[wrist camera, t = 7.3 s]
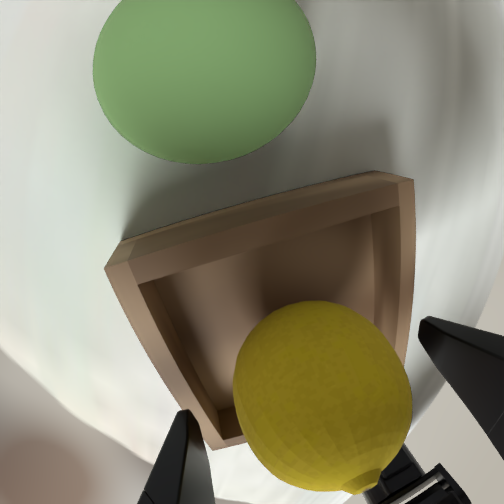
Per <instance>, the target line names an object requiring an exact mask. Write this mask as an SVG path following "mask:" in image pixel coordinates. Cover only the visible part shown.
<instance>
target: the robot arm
mask: <svg viewBox="0 0 504 504" xmlns="http://www.w3.org/2000/svg"><path fill="white" fill-rule="evenodd" d="M418 339H419V341H420V343H421V344H422V346H423V347H424V349H425V350H426V352H427V353H428V355H429V357H430V358H431V360H432V361H433V363H434V364H435V366H436V367H437V369H438V370H439V371H440V373H441V374H442V375H443V376H444V378H445V379H446V380H447V382H448V383H449V384H450V385H451V387H452V388H453V389H454V391H455V392H456V393H457V395H458V396H459V397H460V399H461V400H462V401H463V403H464V404H465V405H466V407H467V408H468V409H469V410H470V412H471V413H472V415H473V416H474V418H475V419H476V420H477V422H478V423H479V425H480V426H481V427H482V429H483V430H484V432H485V433H486V434H487V436H488V438H489V439H490V440H491V442H492V444H493V445H494V446H495V448H496V449H497V451H498V452H499V454H500V456H501V457H502V459H503V460H504V336H502V335H498V334H494V333H491V332H487V331H483V330H479V329H476V328H472V327H468V326H465V325H461V324H457V323H454V322H450V321H446V320H443V319H439V318H436V317H432V316H427V317H425V318H424V319H422V320H421V321H420V325H419V332H418ZM435 479H437V481H438V482H437V483H435V484H434V485H432V486H431V487H429V488H428V489H427V490H425V491H424V492H422V493H421V494H419V495H418V496H416V497H415V498H413V499H412V500H410V501H408V502H407V503H405V504H471V501H470V500H469V498H468V496H467V495H466V494H465V492H464V491H463V490H462V488H461V487H460V486H459V485H458V484H457V483H456V481H455V480H454V479H453V478H452V477H451V475H450V474H449V473H448V472H447V471H446V470H445V468H444V467H443V466H442V465H441V464H440V463H439V464H437V465H436V466H435V467H434V469H432V470H431V471H430V472H428V473H427V474H425V472H424V471H423V469H422V468H421V467H420V465H419V464H418V462H417V461H416V459H415V458H414V457H413V455H412V454H411V452H410V451H409V450H408V448H407V447H406V445H405V444H404V443H403V445H402V447H401V448H400V450H399V452H398V454H397V455H396V456H395V457H394V458H393V460H392V461H391V462H390V463H389V464H388V465H387V467H386V468H385V469H383V470H382V471H381V474H380V477H379V480H378V483H377V484H376V485H375V486H374V487H372V488H371V489H369V490H367V491H365V492H362V494H363V496H364V498H365V500H366V502H367V503H368V504H399V503H401V502H402V501H404V500H406V499H407V498H409V497H411V496H412V495H414V494H415V493H417V492H418V491H420V490H421V489H423V488H424V487H425V486H427V485H428V484H430V483H431V482H433V481H434V480H435ZM137 504H215V498H214V492H213V485H212V478H211V471H210V465H209V460H208V456H207V452H206V448H205V445H204V441H203V437H202V433H201V429H200V425H199V423H198V421H197V419H196V418H195V416H194V415H193V413H192V412H191V410H189V409H185V410H180V411H178V412H177V414H176V416H175V418H174V421H173V423H172V425H171V428H170V430H169V432H168V434H167V437H166V439H165V441H164V444H163V446H162V448H161V450H160V453H159V455H158V457H157V460H156V462H155V464H154V467H153V469H152V471H151V474H150V476H149V478H148V481H147V483H146V485H145V488H144V491H143V492H142V494H141V496H140V499H139V501H138V503H137Z"/></svg>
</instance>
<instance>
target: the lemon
mask: <svg viewBox="0 0 504 504" xmlns="http://www.w3.org/2000/svg"><path fill="white" fill-rule="evenodd" d="M233 398H234V404H235V408H236V413H237V417H238V421H239V424H240V427H241V429H242V432H243V434H244V436H245V439H246V441H247V442H248V444H249V446H250V448H251V450H252V451H253V453H254V454H255V455H256V457H257V458H258V460H259V461H260V462H261V463H262V464H263V465H264V466H265V467H266V468H267V469H268V470H269V471H270V472H271V473H272V474H273V475H274V476H276V477H277V478H278V479H280V480H282V481H284V482H286V483H288V484H290V485H293V486H296V487H299V488H303V489H306V490H312V491H340V490H343V491H345V492H348V493H351V494H353V495H356V494H360V493H362V492H365V491H367V490H369V489H371V488H372V487H374V486H375V485H376V484H377V483H378V480H379V477H380V474H381V471H382V470H383V469H385V468H386V467H387V465H388V464H389V463H390V462H391V461H392V460H393V458H394V457H395V456H396V455H397V454H398V452H399V450H400V448H401V447H402V445H403V443H404V441H405V439H406V436H407V433H408V431H409V428H410V424H411V420H412V393H411V387H410V384H409V380H408V377H407V374H406V372H405V369H404V367H403V365H402V363H401V361H400V358H399V357H398V355H397V353H396V352H395V350H394V349H393V347H392V346H391V344H390V343H389V342H388V340H387V339H386V338H385V336H384V335H383V334H382V332H381V331H380V330H379V329H378V328H377V327H376V326H375V325H374V324H373V323H371V322H370V321H369V320H368V319H366V318H365V317H363V316H362V315H360V314H358V313H357V312H355V311H353V310H351V309H350V308H348V307H346V306H343V305H340V304H336V303H332V302H327V301H320V300H318V301H302V302H298V303H294V304H290V305H286V306H284V307H282V308H280V309H278V310H275V311H273V312H272V313H271V314H269V315H268V316H267V317H265V318H264V319H262V320H261V321H260V322H259V323H258V324H257V325H256V326H255V327H254V328H253V330H252V331H251V332H250V333H249V334H248V336H247V337H246V339H245V341H244V343H243V345H242V347H241V348H240V350H239V353H238V355H237V360H236V365H235V370H234V375H233Z"/></svg>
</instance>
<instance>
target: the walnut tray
mask: <svg viewBox="0 0 504 504" xmlns="http://www.w3.org/2000/svg"><path fill="white" fill-rule="evenodd" d="M415 252H416V217H415V192H414V179H410V178H406V177H402V176H397V175H393V174H389V173H384V172H380V171H370V172H366V173H361V174H357V175H352V176H348V177H343V178H339V179H335V180H331V181H327V182H322V183H318V184H314V185H310V186H306V187H302V188H298V189H294V190H290V191H287V192H283V193H279V194H275V195H271V196H268V197H264V198H260V199H257V200H253V201H249V202H246V203H242V204H239V205H235V206H232V207H228V208H225V209H221V210H218V211H214V212H211V213H208V214H204V215H201V216H198V217H194V218H191V219H188V220H184V221H181V222H178V223H175V224H172V225H168V226H165V227H162V228H159V229H156V230H153V231H150V232H147V233H144V234H141V235H138V236H135V237H132V238H129V239H126V240H123V241H120V242H119V244H118V246H117V247H116V249H115V251H114V252H113V254H112V256H111V257H110V259H109V261H108V262H107V264H106V266H105V267H104V270H105V272H106V275H107V277H108V279H109V281H110V283H111V286H112V288H113V290H114V292H115V294H116V296H117V298H118V300H119V302H120V304H121V306H122V308H123V310H124V312H125V314H126V316H127V318H128V320H129V322H130V324H131V326H132V328H133V330H134V332H135V333H136V335H137V337H138V339H139V341H140V343H141V344H142V346H143V348H144V350H145V351H146V353H147V355H148V357H149V358H150V360H151V362H152V363H153V365H154V367H155V368H156V370H157V372H158V373H159V375H160V377H161V378H162V380H163V381H164V383H165V384H166V386H167V388H168V389H169V391H170V392H171V394H172V395H173V397H174V398H175V400H176V401H177V403H178V404H179V406H180V407H181V409H182V410H185V409H189V410H191V412H192V413H193V415H194V416H195V418H196V419H197V421H198V423H199V425H200V429H201V433H202V437H203V439H204V440H205V442H206V443H207V444H208V445H209V447H210V448H211V449H212V451H214V450H218V449H222V448H227V447H231V446H235V445H239V444H242V443H246V442H247V441H246V439H245V436H244V434H243V432H242V429H241V427H240V424H239V421H238V417H237V413H236V408H235V404H234V398H233V375H234V370H235V365H236V360H237V355H238V353H239V350H240V348H241V347H242V345H243V343H244V341H245V339H246V337H247V336H248V334H249V333H250V332H251V331H252V330H253V328H254V327H255V326H256V325H257V324H258V323H259V322H260V321H261V320H262V319H264V318H265V317H267V316H268V315H269V314H271V313H272V312H273V311H275V310H278V309H280V308H282V307H284V306H286V305H290V304H294V303H298V302H302V301H318V300H320V301H327V302H332V303H336V304H340V305H343V306H346V307H348V308H350V309H351V310H353V311H355V312H357V313H358V314H360V315H362V316H363V317H365V318H366V319H368V320H369V321H370V322H371V323H373V324H374V325H375V326H376V327H377V328H378V329H379V330H380V331H381V332H382V334H383V335H384V336H385V338H386V339H387V340H388V342H389V343H390V344H391V346H392V347H393V349H394V350H395V352H396V353H397V355H398V357H399V358H400V361H401V363H402V365H403V367H404V362H405V357H406V351H407V344H408V337H409V330H410V322H411V313H412V303H413V291H414V277H415Z"/></svg>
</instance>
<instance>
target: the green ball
mask: <svg viewBox="0 0 504 504" xmlns="http://www.w3.org/2000/svg"><path fill="white" fill-rule="evenodd" d="M315 68H316V51H315V42H314V38H313V33H312V30H311V28H310V25H309V22H308V20H307V18H306V16H305V15H304V13H303V11H302V10H301V8H300V7H299V6H298V4H297V3H296V2H295V0H122V1H121V2H120V3H119V4H118V5H117V6H116V8H115V9H114V10H113V12H112V13H111V15H110V16H109V18H108V19H107V21H106V23H105V25H104V26H103V28H102V30H101V32H100V35H99V38H98V41H97V43H96V48H95V53H94V59H93V81H94V88H95V91H96V95H97V98H98V101H99V103H100V105H101V107H102V110H103V112H104V114H105V116H106V117H107V119H108V120H109V122H110V123H111V125H112V126H113V127H114V128H115V129H116V130H117V131H118V132H119V134H120V135H121V136H123V137H124V138H125V139H126V140H128V141H129V142H130V143H131V144H133V145H134V146H136V147H138V148H139V149H141V150H143V151H144V152H147V153H149V154H151V155H154V156H156V157H158V158H162V159H165V160H169V161H173V162H179V163H185V164H207V163H217V162H222V161H227V160H232V159H235V158H238V157H241V156H244V155H246V154H248V153H251V152H253V151H255V150H257V149H259V148H260V147H262V146H264V145H265V144H267V143H269V142H270V141H271V140H273V139H274V138H275V137H276V136H278V135H279V134H280V133H281V132H282V131H283V130H284V129H285V128H286V127H287V126H288V125H289V124H290V123H291V122H292V121H293V120H294V118H295V117H296V116H297V114H298V113H299V112H300V110H301V108H302V106H303V105H304V103H305V101H306V99H307V97H308V94H309V91H310V89H311V86H312V83H313V79H314V75H315Z"/></svg>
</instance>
